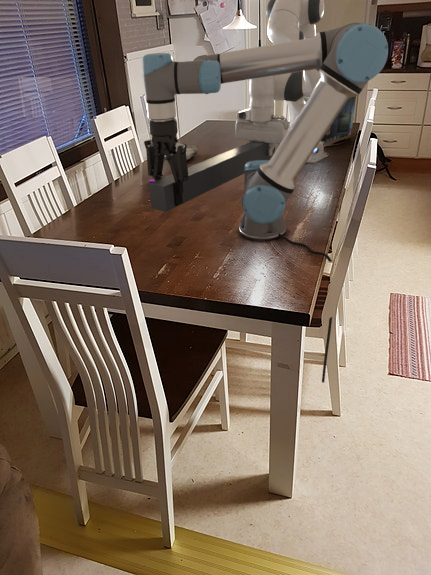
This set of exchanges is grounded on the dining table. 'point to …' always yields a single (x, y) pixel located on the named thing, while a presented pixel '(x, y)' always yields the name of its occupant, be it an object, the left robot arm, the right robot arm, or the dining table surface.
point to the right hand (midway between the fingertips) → (260, 153)
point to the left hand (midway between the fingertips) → (170, 202)
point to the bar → (208, 174)
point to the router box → (340, 122)
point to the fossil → (188, 152)
